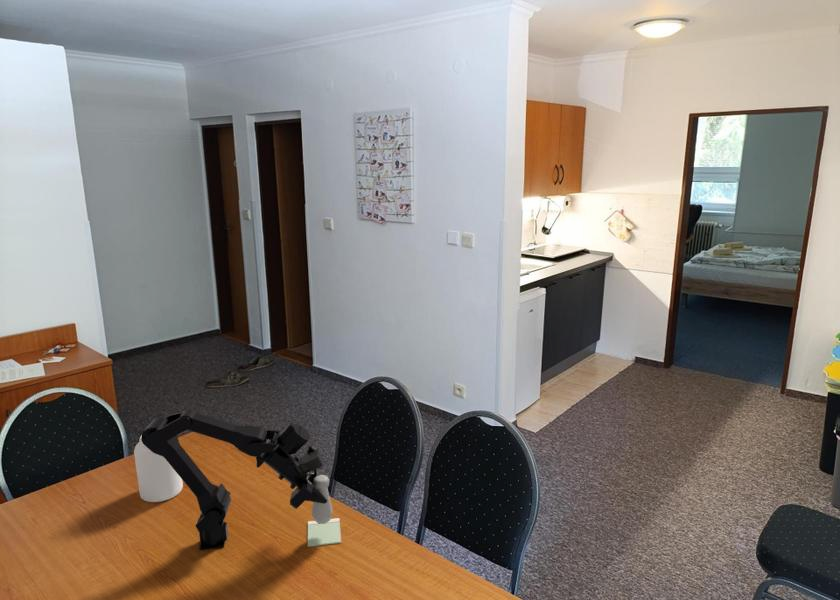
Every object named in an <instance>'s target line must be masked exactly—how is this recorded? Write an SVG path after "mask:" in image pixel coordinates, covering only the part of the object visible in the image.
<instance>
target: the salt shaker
mask: <svg viewBox="0 0 840 600" xmlns="http://www.w3.org/2000/svg"><path fill="white" fill-rule="evenodd" d="M317 475H318V474H317ZM314 481H315V484H316V489H317V490H318V491H319V492H320V493H321V494H322V495H323V496H324V497H325V498H326V499H327V502H326V503H325V504H323V503H318V502H312V508H311V516H312V518H313V519H314V520H313V521H316V522H317V523H318V524H325V523H327V522H328V521H330V519H332V517H333V512H334V509H333V506H332V502H331V501H332V500H331V497H330V492H329V490H328V486H330V479H329V477H328V476H327V475H325V474H319V475H318V476H316V477H315V478H314V480H313V482H314Z"/></svg>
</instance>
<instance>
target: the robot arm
mask: <svg viewBox="0 0 840 600" xmlns="http://www.w3.org/2000/svg"><path fill="white" fill-rule="evenodd" d="M185 431H189V432H192V433H196V434H199V435H203V436H204V437H205V436H206V437H208V438H212V439H215V440H218V441H221V442H226V443H228V444H231V445H232V446H234V447H235V448H236V449H237V450H238V451H239V452H241V453H244V454H245V455H247V456H249V457H252V458H255V460H256V468H260V467H261V466H262V465H263V464H266V465H267V466H268V467H269V468H271V469H272V470H273V471H274V472H276V474H278V479H279V480H280V481H282V480H283V479H284V480H286V481H287V482H288V483H289V484H290V485H289V488H290V489H291V490H293V491H292V492H291V493H290V498H289V505H290V506H291V507H292V508H294V509H295V510H297V509H298V508H299V507H300V506H301V505H303V504H304V502H312V503H313V502H318V503H323V504H325V503H326V502H327V499H326V498H325V497H324V496H323V495H322V494H321V493H320V492H319V491H318V490H317V489H316V484H315V481H314V482H313V480H314V478H315V477H316V476H318V470H319V469H320V468H322V467H323V466H324V456H323V455H322V450H321V449H320V448H318V447H317V446H314V445H313V444H312V445H310V446H307V449H306V453H304V454H303V456H301V457H300V456H299V455H297V454H296V453H297V452H299V450H300V449H302V447H304V445H306V444H307V442H309V441H310V440H311V435H310V433H309V432H308V430H307V429H306V428H305V427H304V426H303V425H300V424H298V423H293V422H292V421H290V422H289V423H288V424H287V425H286V427H284V429H283V430H282V431H281V430H275V429H273V430H272V429H266V428H264V427H262V426H256V425H248V424H247V425H236V424H233V423H230V422H227V421H223V420H221V419H218V418H214V417H211V416H208V415H205V414H202V413H199V412H196V411H195V410H193V409H186V410H183V411H181V412H178V413H171V414H170V415H167V416H165V417H156V418H154V419H153V420H151V422H150V423H149V424H148V425H147V426H146V428H145V429H144V430H143V431H142V433H141V435H142V437H141V436H140V437H141V441H142V443H143V444H144V445H145V446H146V447H147V448H148V449H149V450H151V451H152V452H153V453H155V454H158V455H160V456H163V457H164V458H165V459H166V460H167V462H168V463H169V464H170V465H171V466H172V468H173V469H174V470H175V471H176V473H177V474H178V475H179V476H180V477H181V479H182V481H183V483H184V484H185V485H186V487H188V489H190V491H191V492H192V493H193V495H194V496H195V497H196V500H197V504H198V507H199V510H200V515H199V517H198V519H197V521H196V524H195V527H196V529H197V531H198V535H199V546H198V550H199V551H201V550H202V551H203V550H210V549H218V548H224V547H225V544H226V541H227V540H228V535H229V530H228V522H227V521H225V518H226V516H227V514H228V510H229V508H230V506H231V502H232V498H231V496H230V495H231V492H230V491H228V490H227V488H226V487H225V485H224V484H223V483H220V484H219V485H215V484H213V483H212V482H211V481H210V480H209V479H208V478H207V476H206V474H204V473H203V472H202V470H201V469H200V468H199V466H198V465H197V464H196V462H195V461H194V460H193V458H191V456H190V455H189V454H188V453H187V451H186V450H185V449H184V448H183V446H182V445H181V444H180V441H179V437H178V435H180V434H181V433H184V432H185ZM269 441H270V442H269Z"/></svg>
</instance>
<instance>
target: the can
mask: <svg viewBox="0 0 840 600" xmlns="http://www.w3.org/2000/svg"><path fill="white" fill-rule="evenodd" d="M141 437H142V434H141V435H140V437H139V442H137V444H136V445H135V446H134V450H133V455H134V462H135V470H136V476H137V477H136V478H137V483H138V492H139V496H140V498H141V499H142V500H143V501H145V502H147V503H160V502H164V501H168V500H171V499H172V498H174V497H176V496H178V495H179V494H180V492H181V491H182V490H183V487H184V481H183V480H182V479H181V477H180V476H179V475H178V474H177V473H176V471H175V470H174V469H173V468H172V466H171V465H170V464H169V463H168V462H167V460H166V459H165V458H164V457H163V456H160V455H158V454H155V453H153V452H152V451H151V450H149V449H148V448H147V447H146V446H145V445H144V444H143V443H142V441H141Z"/></svg>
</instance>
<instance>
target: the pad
mask: <svg viewBox="0 0 840 600" xmlns="http://www.w3.org/2000/svg"><path fill="white" fill-rule="evenodd" d="M340 520H341V519H340V517H339V518H338V517H337V518H336V517H335V518H331V519H330V521H328V522H327V523H325V524H318V523H317V522H316V521H315V520H309V521H307V547H309V548H310V547H319V546H325V545H334V544H342V537H341V535H342V534H341V523H340Z"/></svg>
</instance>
